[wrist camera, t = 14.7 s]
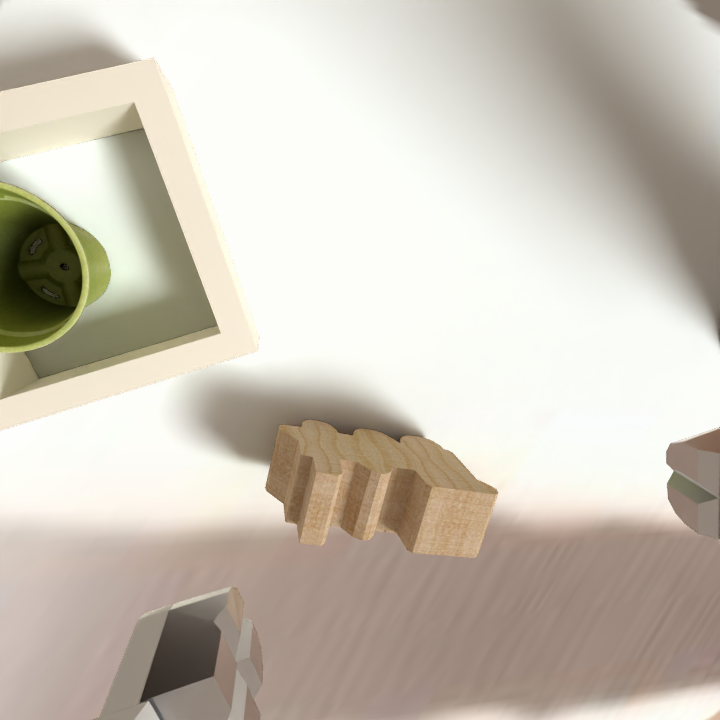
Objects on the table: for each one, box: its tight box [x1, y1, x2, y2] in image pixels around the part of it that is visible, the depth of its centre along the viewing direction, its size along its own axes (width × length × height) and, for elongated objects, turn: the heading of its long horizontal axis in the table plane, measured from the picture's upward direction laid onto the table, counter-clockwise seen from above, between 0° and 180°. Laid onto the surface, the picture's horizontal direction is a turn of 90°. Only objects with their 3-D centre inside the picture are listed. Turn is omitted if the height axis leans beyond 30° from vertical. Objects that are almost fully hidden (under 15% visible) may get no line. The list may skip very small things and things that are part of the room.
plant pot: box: [0, 182, 111, 353], centre depth 28 cm, size 9×9×9 cm
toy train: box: [265, 420, 498, 558], centre depth 36 cm, size 6×17×10 cm, turn 75°
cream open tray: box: [0, 58, 260, 431], centre depth 30 cm, size 19×19×5 cm
